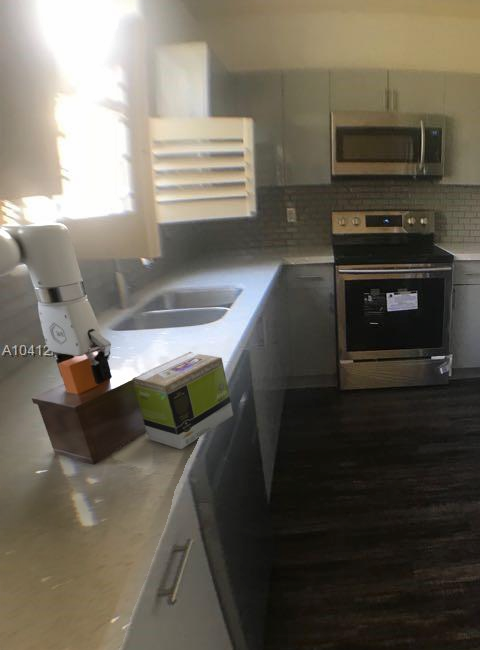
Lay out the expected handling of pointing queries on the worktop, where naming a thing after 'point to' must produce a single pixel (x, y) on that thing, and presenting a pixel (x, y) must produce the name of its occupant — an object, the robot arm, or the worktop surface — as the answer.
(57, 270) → the robot arm
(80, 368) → the block
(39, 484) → the worktop surface
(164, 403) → the tea box
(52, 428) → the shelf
